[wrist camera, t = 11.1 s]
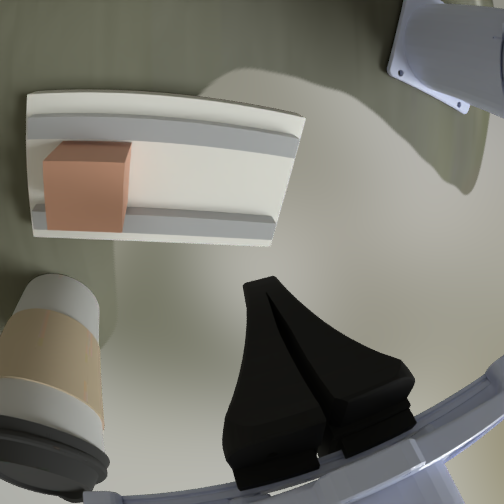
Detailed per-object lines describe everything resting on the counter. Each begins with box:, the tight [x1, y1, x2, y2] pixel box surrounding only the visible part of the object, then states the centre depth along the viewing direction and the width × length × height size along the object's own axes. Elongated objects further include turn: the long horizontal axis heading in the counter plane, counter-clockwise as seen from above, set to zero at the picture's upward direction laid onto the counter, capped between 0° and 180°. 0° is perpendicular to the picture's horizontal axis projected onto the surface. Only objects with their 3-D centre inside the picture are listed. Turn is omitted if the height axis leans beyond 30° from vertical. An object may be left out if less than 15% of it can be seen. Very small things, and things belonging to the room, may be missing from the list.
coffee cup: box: [0, 274, 110, 503], centre depth 17 cm, size 9×9×15 cm
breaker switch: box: [43, 141, 132, 233], centre depth 15 cm, size 4×4×4 cm
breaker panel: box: [26, 89, 306, 247], centre depth 18 cm, size 16×9×2 cm, turn 78°
